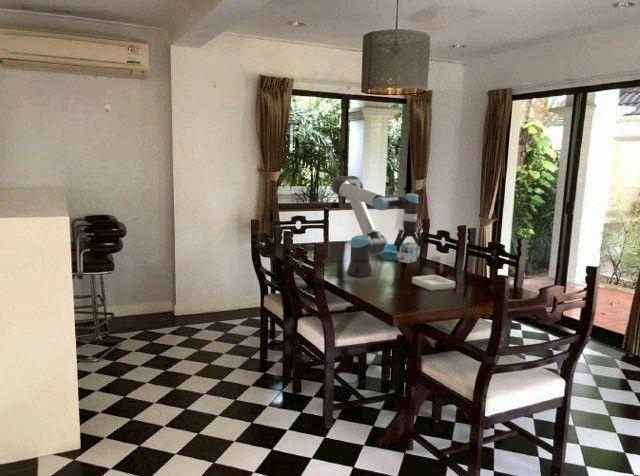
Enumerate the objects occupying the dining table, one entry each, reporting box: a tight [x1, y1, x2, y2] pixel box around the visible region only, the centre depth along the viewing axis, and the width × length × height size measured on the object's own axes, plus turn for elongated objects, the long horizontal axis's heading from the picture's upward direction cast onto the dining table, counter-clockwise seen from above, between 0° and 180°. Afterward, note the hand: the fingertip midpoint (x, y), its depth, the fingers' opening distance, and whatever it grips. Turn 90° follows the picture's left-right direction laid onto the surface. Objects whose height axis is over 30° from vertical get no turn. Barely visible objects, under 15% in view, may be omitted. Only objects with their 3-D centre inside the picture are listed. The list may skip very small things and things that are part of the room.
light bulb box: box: [398, 241, 418, 264], centre depth 296 cm, size 11×7×11 cm, turn 143°
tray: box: [411, 274, 456, 292], centre depth 284 cm, size 16×18×4 cm
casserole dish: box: [378, 243, 399, 261], centre depth 363 cm, size 37×22×7 cm, turn 5°
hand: (407, 257), depth 296 cm, fingers closed on light bulb box, 12 cm apart
